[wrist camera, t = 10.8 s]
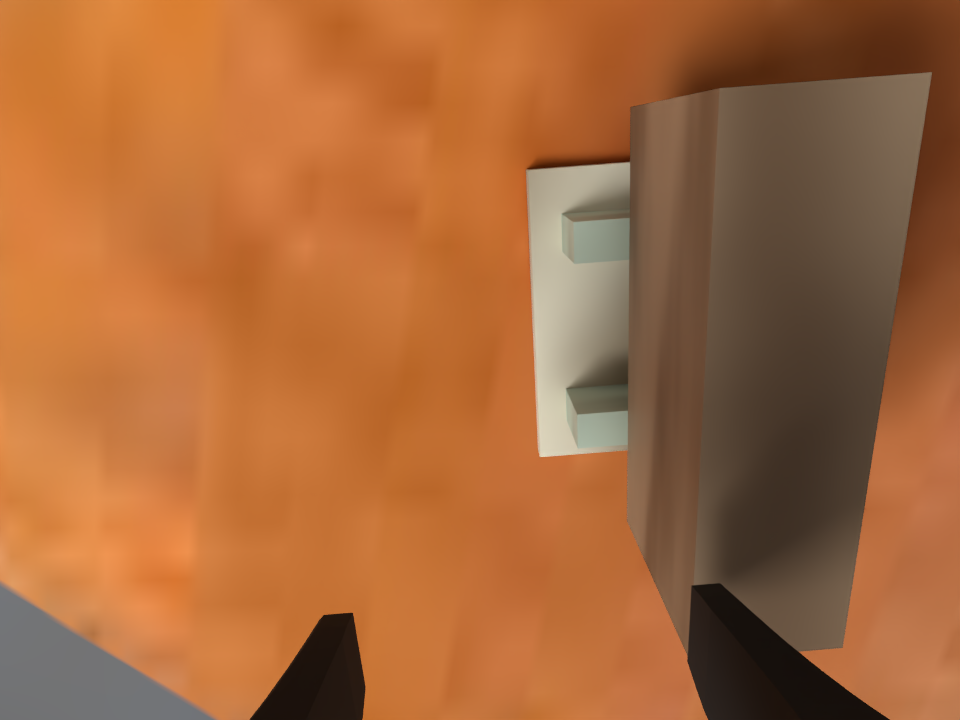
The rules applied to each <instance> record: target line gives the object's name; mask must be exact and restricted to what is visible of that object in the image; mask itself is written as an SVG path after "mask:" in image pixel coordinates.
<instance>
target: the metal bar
mask: <svg viewBox="0 0 960 720" xmlns="http://www.w3.org/2000/svg"><path fill="white" fill-rule="evenodd" d="M931 76H932V72H928V73H915V74H902V75H888V76H875V77H862V78H849V79H835V80H822V81H809V82H795V83H782V84H769V85H755V86H742V87H729V88H718V89H714V90H709V91H704V92H699V93H695V94H690V95H685V96H681V97H676V98H671V99H667V100H662V101H657V102H653V103H648V104H643V105H639V106H634V107H631V115H630V232H629V348H628V464H627V522H628V524H629V526H630V529H631V531H632V533H633V535H634V538H635V540H636V542H637V544H638V546H639V549H640V551H641V553H642V555H643V558H644V560H645V562H646V564H647V566H648V569H649V571H650V573H651V575H652V578H653V580H654V582H655V584H656V586H657V589H658V591H659V593H660V595H661V598H662V600H663V602H664V604H665V607H666V609H667V611H668V613H669V615H670V618H671V620H672V622H673V624H674V627H675V629H676V631H677V633H678V635H679V638H680V640H681V642H682V644H683V647H684V649H685V651H686V653H687V656H688V641H689V622H690V603H691V585H704V584H716V583H720V584H722V585H723V586H724V587H725V588H726V589H727V590H728V591H729V592H731V593H732V594H733V595H734V596H735V597H736V598H737V599H738V600H740V601H741V602H742V603H743V604H744V605H745V606H746V607H747V608H748V609H750V610H751V611H752V612H753V613H754V614H755V615H756V616H757V617H759V618H760V619H761V620H762V621H763V622H764V623H765V624H766V625H768V626H769V627H770V628H771V629H772V630H773V631H774V632H776V633H777V634H778V635H779V636H780V637H781V638H783V639H784V640H785V641H786V642H787V643H788V644H790V645H791V646H792V647H793V648H794V649H796V650H797V651H810V650H822V649H834V648H843V641H844V635H845V629H846V622H847V616H848V609H849V603H850V596H851V590H852V584H853V577H854V571H855V564H856V558H857V551H858V545H859V539H860V532H861V526H862V519H863V513H864V506H865V500H866V494H867V487H868V481H869V474H870V468H871V461H872V455H873V449H874V442H875V436H876V429H877V423H878V416H879V410H880V404H881V397H882V391H883V384H884V378H885V371H886V365H887V359H888V352H889V346H890V339H891V333H892V326H893V320H894V314H895V307H896V301H897V294H898V288H899V281H900V275H901V269H902V262H903V256H904V249H905V243H906V236H907V230H908V224H909V217H910V211H911V204H912V198H913V191H914V185H915V179H916V172H917V166H918V159H919V153H920V146H921V140H922V134H923V127H924V121H925V114H926V108H927V101H928V95H929V89H930V82H931Z"/></svg>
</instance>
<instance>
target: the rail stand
mask: <svg viewBox="0 0 960 720" xmlns="http://www.w3.org/2000/svg"><path fill="white" fill-rule="evenodd" d="M526 182H527V205H528V228H529V252H530V275H531V298H532V321H533V344H534V368H535V391H536V414H537V437H538V451H539V455H540V457H547V456H560V455H572V454H585V453H598V452H611V451H623V450H628V348H629V232H630V162H620V163H606V164H593V165H579V166H566V167H552V168H539V169H526Z"/></svg>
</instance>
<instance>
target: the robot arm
mask: <svg viewBox="0 0 960 720" xmlns="http://www.w3.org/2000/svg"><path fill="white" fill-rule="evenodd" d="M687 661H688V664H689V667H690V670H691V673H692V676H693V680H694V683H695V686H696V689H697V691H698V694H699V697H700V700H701V703H702V706H703V709H704V711H705V713H706V716H707V718H708V720H890V719H888V718H887V717H885V716H884V715H882V714H881V713H879V712H878V711H876V710H875V709H873V708H872V707H870V706H869V705H867V704H866V703H864V702H863V701H862V700H860V699H859V698H857V697H856V696H855V695H853V694H852V693H850V692H849V691H848V690H846V689H845V688H844V687H842V686H841V685H840V684H839V683H837V682H836V681H835V680H833V679H832V678H831V677H829V676H828V675H827V674H825V673H824V672H823V671H821V670H820V669H819V668H818V667H816V666H815V665H814V664H813V663H811V662H810V661H809V660H808V659H806V658H805V657H804V656H803V655H802V654H800V653H799V652H798V651H797V650H796V649H794V648H793V647H792V646H791V645H790V644H788V643H787V642H786V641H785V640H784V639H783V638H781V637H780V636H779V635H778V634H777V633H776V632H774V631H773V630H772V629H771V628H770V627H769V626H768V625H766V624H765V623H764V622H763V621H762V620H761V619H760V618H759V617H757V616H756V615H755V614H754V613H753V612H752V611H751V610H750V609H748V608H747V607H746V606H745V605H744V604H743V603H742V602H741V601H740V600H738V599H737V598H736V597H735V596H734V595H733V594H732V593H731V592H729V591H728V590H727V589H726V588H725V587H724V586H723V585H722V584H720V583H716V584H704V585H691V603H690V622H689V641H688V660H687ZM364 698H365V682H364V676H363V670H362V664H361V658H360V652H359V647H358V641H357V635H356V629H355V623H354V617H353V613H343V614H331V615H324V616H323V617H322V618H321V619H320V620H319V622H318V623H317V625H316V626H315V628H314V629H313V631H312V632H311V634H310V636H309V637H308V639H307V640H306V642H305V643H304V645H303V646H302V648H301V649H300V651H299V652H298V654H297V655H296V657H295V658H294V660H293V661H292V663H291V664H290V666H289V667H288V669H287V670H286V671H285V673H284V674H283V676H282V677H281V678H280V680H279V681H278V682H277V684H276V685H275V687H274V688H273V689H272V691H271V692H270V694H269V695H268V696H267V698H266V699H265V700H264V702H263V703H262V704H261V706H260V707H259V708H258V710H257V711H256V712H255V713H254V715H253V716H252V717H251V718H250V720H362V718H363V708H364Z"/></svg>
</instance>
